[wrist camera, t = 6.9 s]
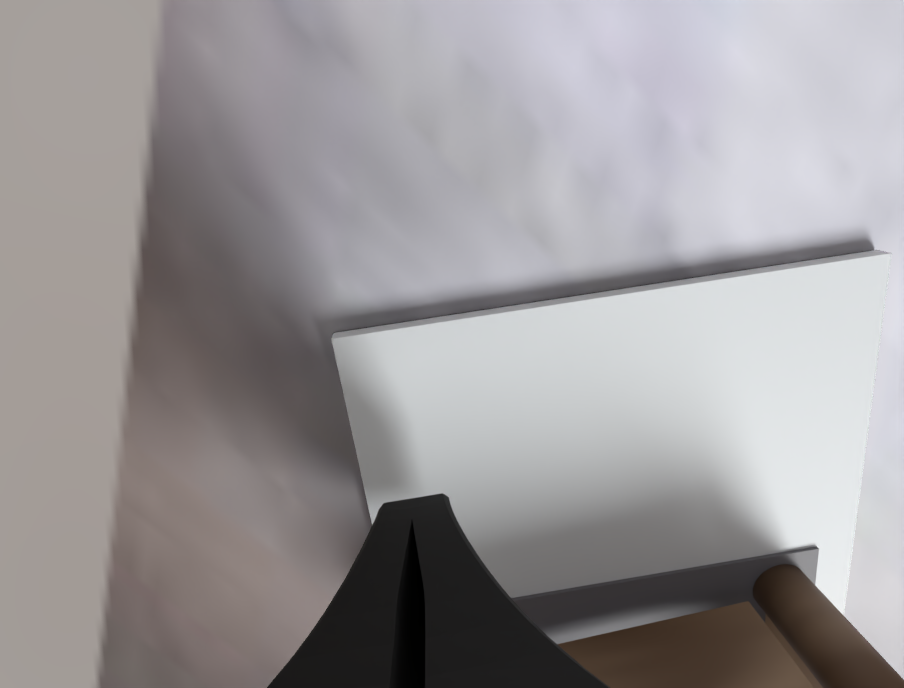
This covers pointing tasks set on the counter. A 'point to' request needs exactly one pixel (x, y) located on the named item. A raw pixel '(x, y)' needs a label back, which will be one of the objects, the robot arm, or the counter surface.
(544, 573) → the card
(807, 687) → the panel
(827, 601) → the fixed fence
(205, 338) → the counter surface
